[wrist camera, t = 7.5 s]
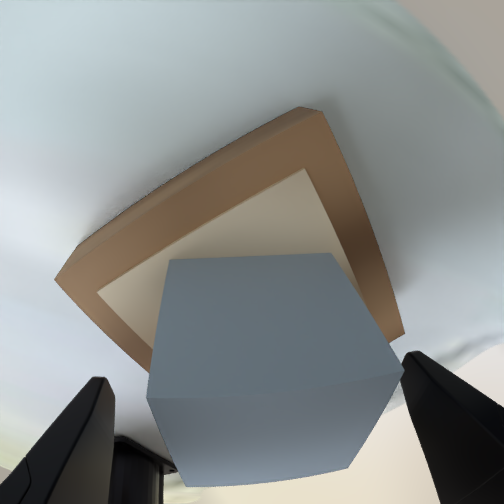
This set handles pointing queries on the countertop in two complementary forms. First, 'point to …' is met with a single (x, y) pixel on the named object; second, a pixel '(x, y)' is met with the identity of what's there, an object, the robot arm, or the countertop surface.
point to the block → (266, 369)
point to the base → (232, 228)
